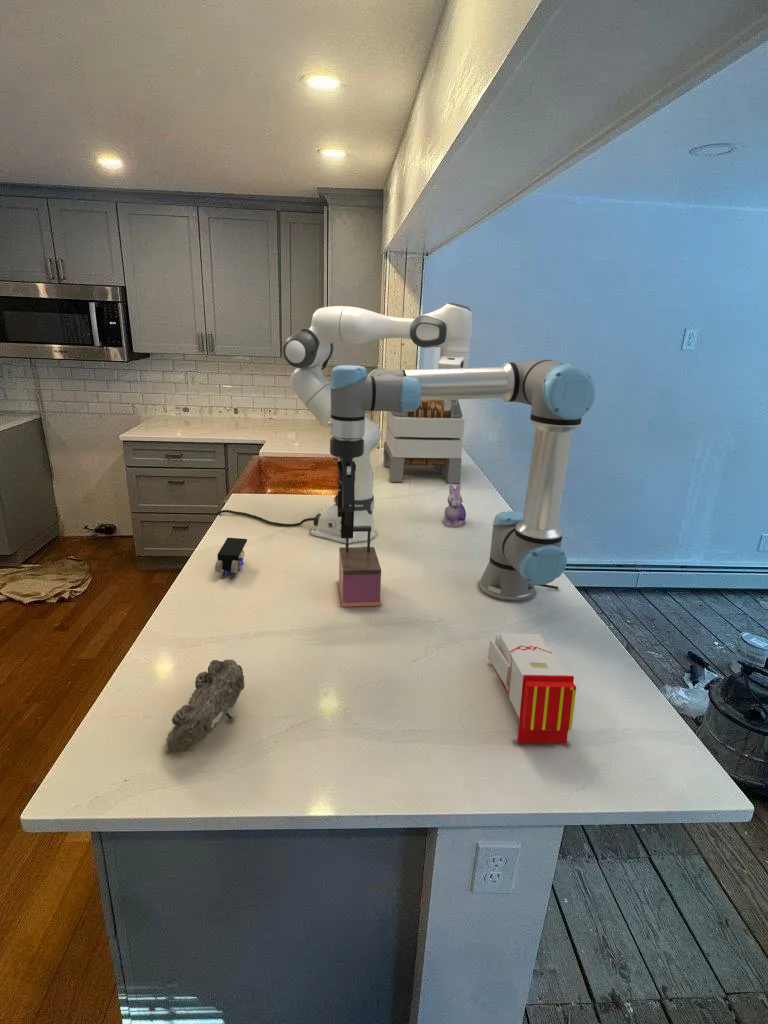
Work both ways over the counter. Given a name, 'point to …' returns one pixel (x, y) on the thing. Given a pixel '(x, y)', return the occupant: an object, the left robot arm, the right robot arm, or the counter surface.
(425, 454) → the transformer
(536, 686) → the toy
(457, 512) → the figurine
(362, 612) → the counter surface
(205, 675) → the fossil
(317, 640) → the counter surface
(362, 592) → the chest
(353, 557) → the lid
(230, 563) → the black toy vehicle
